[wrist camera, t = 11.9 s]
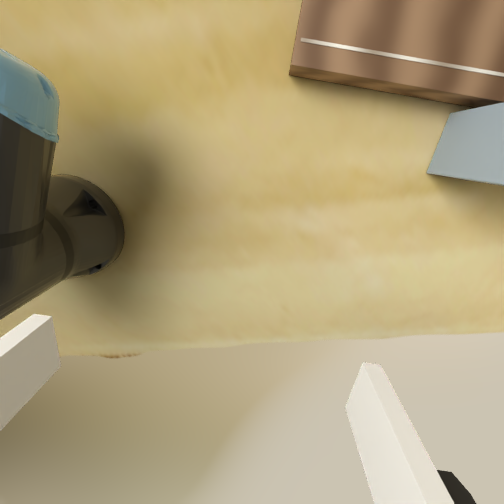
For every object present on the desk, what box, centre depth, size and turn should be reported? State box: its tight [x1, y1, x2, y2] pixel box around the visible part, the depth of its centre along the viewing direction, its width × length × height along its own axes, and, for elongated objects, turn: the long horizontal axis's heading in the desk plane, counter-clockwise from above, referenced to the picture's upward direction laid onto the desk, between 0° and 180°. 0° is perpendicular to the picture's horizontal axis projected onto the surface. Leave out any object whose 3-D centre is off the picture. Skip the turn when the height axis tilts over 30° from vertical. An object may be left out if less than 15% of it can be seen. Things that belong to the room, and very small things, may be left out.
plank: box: [289, 0, 504, 108], centre depth 27 cm, size 30×12×4 cm, turn 81°
